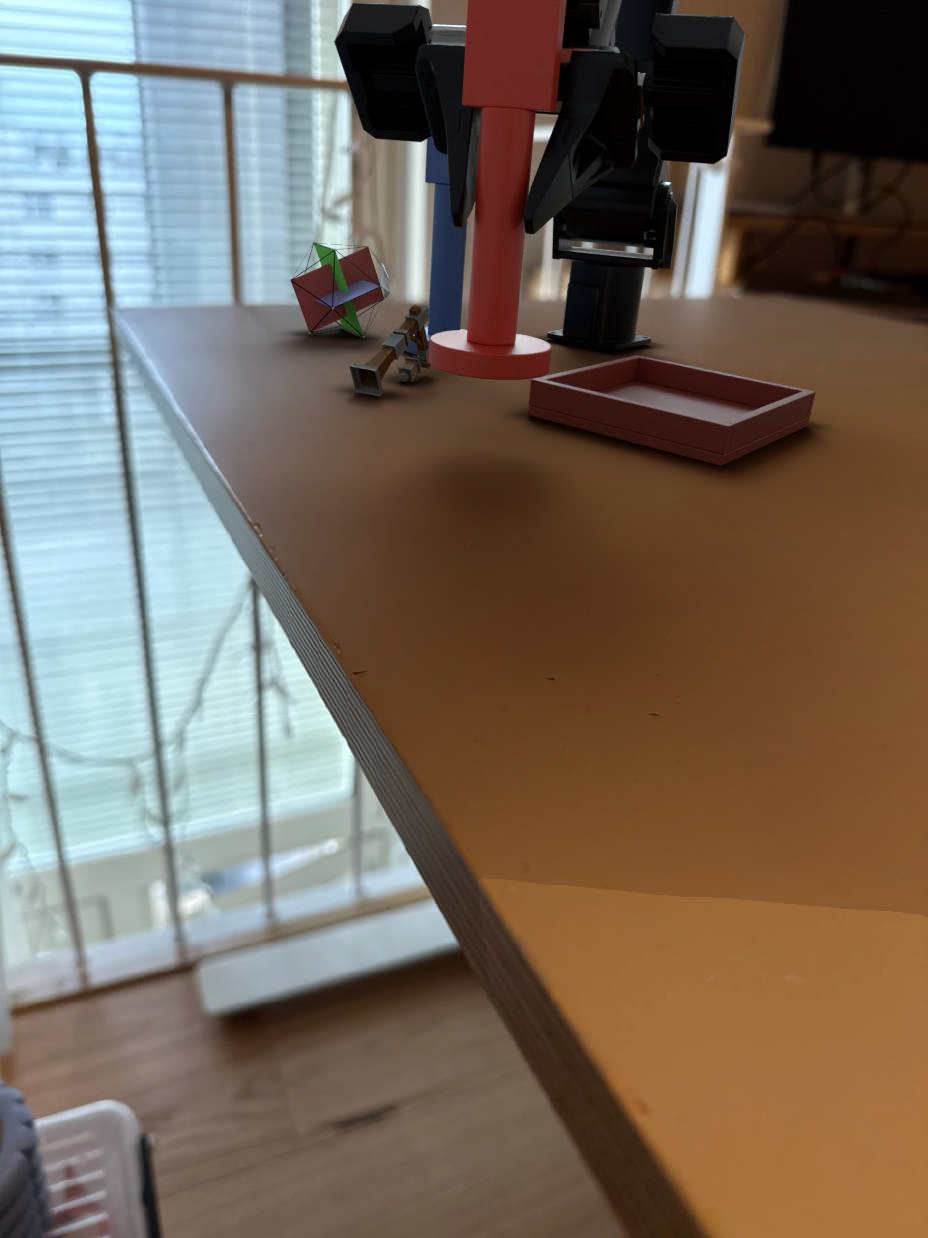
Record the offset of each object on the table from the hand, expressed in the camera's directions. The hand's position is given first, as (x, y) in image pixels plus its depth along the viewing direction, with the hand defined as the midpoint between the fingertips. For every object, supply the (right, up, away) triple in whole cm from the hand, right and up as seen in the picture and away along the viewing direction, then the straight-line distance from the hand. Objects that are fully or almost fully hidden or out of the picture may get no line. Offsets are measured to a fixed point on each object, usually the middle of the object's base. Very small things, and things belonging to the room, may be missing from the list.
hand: (491, 223), depth 42 cm
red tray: (+11, -6, +13) cm, 18 cm away
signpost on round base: (0, -5, +4) cm, 7 cm away
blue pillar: (-3, +2, +27) cm, 27 cm away
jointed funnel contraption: (-6, -3, +17) cm, 18 cm away
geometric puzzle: (-11, +4, +31) cm, 33 cm away
